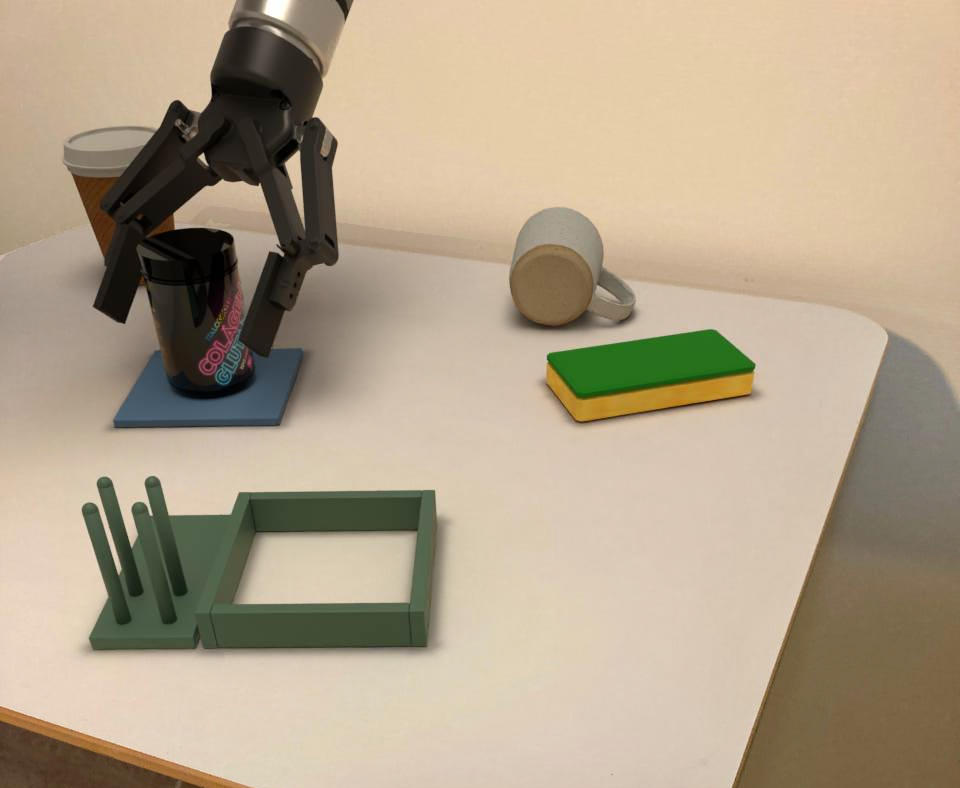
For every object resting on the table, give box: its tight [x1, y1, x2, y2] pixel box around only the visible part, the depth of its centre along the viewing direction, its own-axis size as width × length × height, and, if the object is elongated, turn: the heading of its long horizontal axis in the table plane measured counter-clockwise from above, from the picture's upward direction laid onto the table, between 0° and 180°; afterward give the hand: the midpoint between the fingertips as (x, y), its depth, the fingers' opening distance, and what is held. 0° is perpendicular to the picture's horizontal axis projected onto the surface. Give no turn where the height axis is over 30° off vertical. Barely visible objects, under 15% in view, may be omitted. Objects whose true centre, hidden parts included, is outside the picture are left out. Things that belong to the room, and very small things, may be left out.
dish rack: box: [81, 475, 438, 650], centre depth 57 cm, size 18×12×8 cm, turn 89°
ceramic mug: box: [508, 206, 637, 327], centre depth 87 cm, size 11×8×8 cm
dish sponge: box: [545, 328, 757, 422], centre depth 77 cm, size 7×14×2 cm, turn 106°
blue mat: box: [112, 347, 304, 428], centre depth 79 cm, size 12×12×1 cm
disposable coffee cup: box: [61, 125, 176, 286], centre depth 95 cm, size 10×10×12 cm
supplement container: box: [136, 227, 256, 399], centre depth 76 cm, size 7×7×10 cm
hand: (178, 332), depth 75 cm, fingers open, 13 cm apart
